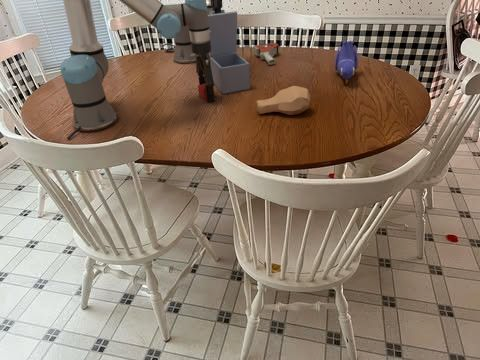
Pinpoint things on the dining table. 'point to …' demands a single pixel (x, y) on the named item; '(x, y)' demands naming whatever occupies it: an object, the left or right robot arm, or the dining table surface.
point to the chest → (230, 72)
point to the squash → (286, 101)
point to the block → (203, 91)
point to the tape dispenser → (266, 52)
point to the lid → (223, 32)
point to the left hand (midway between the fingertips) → (207, 96)
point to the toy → (346, 60)
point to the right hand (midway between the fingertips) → (218, 24)
